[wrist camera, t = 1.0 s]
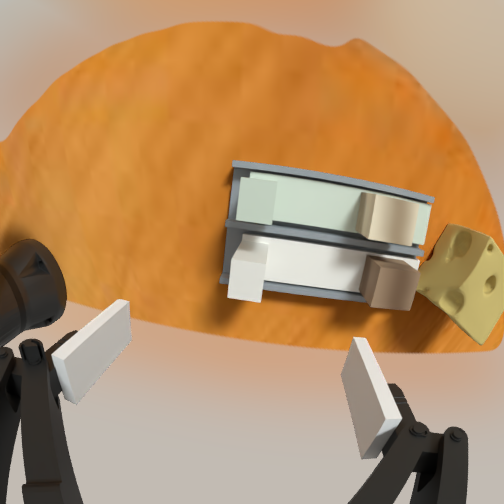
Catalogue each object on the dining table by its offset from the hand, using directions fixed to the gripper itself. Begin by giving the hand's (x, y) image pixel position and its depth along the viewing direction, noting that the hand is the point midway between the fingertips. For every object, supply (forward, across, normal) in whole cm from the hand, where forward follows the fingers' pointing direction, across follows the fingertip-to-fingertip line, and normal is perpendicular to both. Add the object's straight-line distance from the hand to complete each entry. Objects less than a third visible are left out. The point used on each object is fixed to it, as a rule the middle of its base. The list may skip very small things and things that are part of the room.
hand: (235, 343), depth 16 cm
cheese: (+21, +27, +2) cm, 34 cm away
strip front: (+19, +9, +7) cm, 22 cm away
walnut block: (+18, +15, 0) cm, 24 cm away
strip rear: (+19, +9, 0) cm, 21 cm away
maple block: (+18, +13, +7) cm, 23 cm away
